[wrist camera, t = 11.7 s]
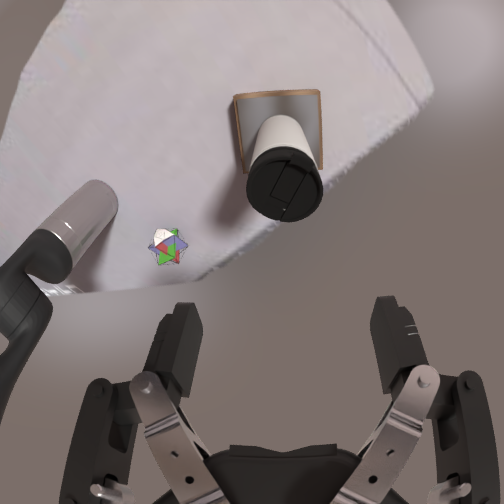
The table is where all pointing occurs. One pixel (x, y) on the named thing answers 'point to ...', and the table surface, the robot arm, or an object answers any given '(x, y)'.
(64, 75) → the table surface
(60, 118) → the table surface
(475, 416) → the robot arm
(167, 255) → the geometric puzzle
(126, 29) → the table surface
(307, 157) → the travel mug
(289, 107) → the square wooden framed mirror
